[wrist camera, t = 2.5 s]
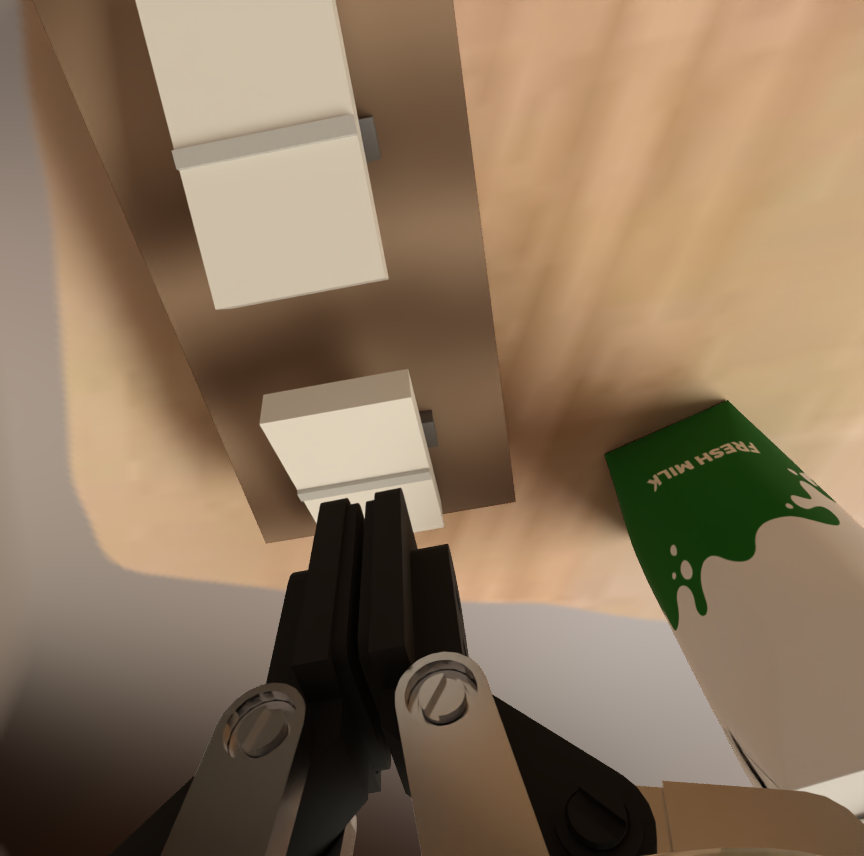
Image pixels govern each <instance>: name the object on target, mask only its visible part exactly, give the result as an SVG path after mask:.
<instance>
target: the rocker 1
mask: <svg viewBox="0 0 864 856" xmlns="http://www.w3.org/2000/svg"><path fill="white" fill-rule="evenodd" d="M135 1H136V5H137V9H138V13H139V17H140V20H141V24H142V28H143V32H144V36H145V40H146V44H147V47H148V51H149V55H150V59H151V63H152V67H153V71H154V74H155V78H156V82H157V86H158V90H159V94H160V98H161V101H162V105H163V109H164V113H165V117H166V121H167V125H168V128H169V132H170V136H171V140H172V144H173V148H174V150H171V151H172V154H173V158H174V162H175V166H176V169H177V170H179V171H180V175H181V179H182V182H183V186H184V190H185V194H186V198H187V202H188V206H189V209H190V213H191V217H192V221H193V225H194V229H195V233H196V236H197V240H198V244H199V248H200V252H201V256H202V260H203V263H204V267H205V271H206V275H207V279H208V283H209V287H210V290H211V294H212V298H213V302H214V306H215V310H220V309H233V308H239V307H244V306H249V305H255V304H260V303H265V302H271V301H276V300H281V299H287V298H292V297H297V296H302V295H308V294H313V293H318V292H324V291H329V290H334V289H340V288H345V287H350V286H356V285H361V284H366V283H372V282H377V281H382V280H388V279H389V277H388V272H387V267H386V262H385V257H384V251H383V246H382V241H381V236H380V230H379V225H378V220H377V215H376V210H375V204H374V199H373V194H372V189H371V183H370V178H369V173H368V168H367V163H366V157H365V152H364V147H363V142H362V136H361V131H360V126H359V121H358V115H357V110H356V105H355V100H354V95H353V89H352V84H351V79H350V74H349V68H348V63H347V58H346V53H345V48H344V42H343V37H342V32H341V27H340V21H339V16H338V11H337V6H336V0H135Z"/></svg>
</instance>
